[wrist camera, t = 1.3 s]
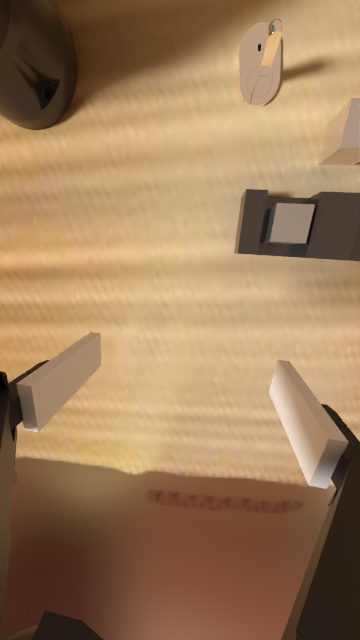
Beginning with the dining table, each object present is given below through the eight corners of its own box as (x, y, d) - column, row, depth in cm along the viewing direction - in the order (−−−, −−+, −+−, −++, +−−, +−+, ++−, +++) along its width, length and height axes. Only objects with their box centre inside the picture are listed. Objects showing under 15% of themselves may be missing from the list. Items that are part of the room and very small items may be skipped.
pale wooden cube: (327, 124, 28) (351, 98, 23) (364, 124, 27) (397, 97, 23) (318, 164, 29) (339, 148, 24) (353, 165, 29) (381, 148, 24)
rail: (241, 196, 31) (246, 189, 28) (420, 203, 29) (452, 195, 25) (234, 253, 34) (237, 253, 30) (398, 263, 31) (423, 265, 28)
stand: (279, 20, 25) (279, 103, 28) (237, 32, 26) (240, 112, 29) (307, -72, 18) (303, 50, 20) (248, -52, 19) (250, 64, 21)
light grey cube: (266, 210, 31) (276, 203, 26) (298, 211, 31) (314, 204, 26) (261, 242, 32) (269, 241, 28) (291, 244, 32) (305, 243, 27)
